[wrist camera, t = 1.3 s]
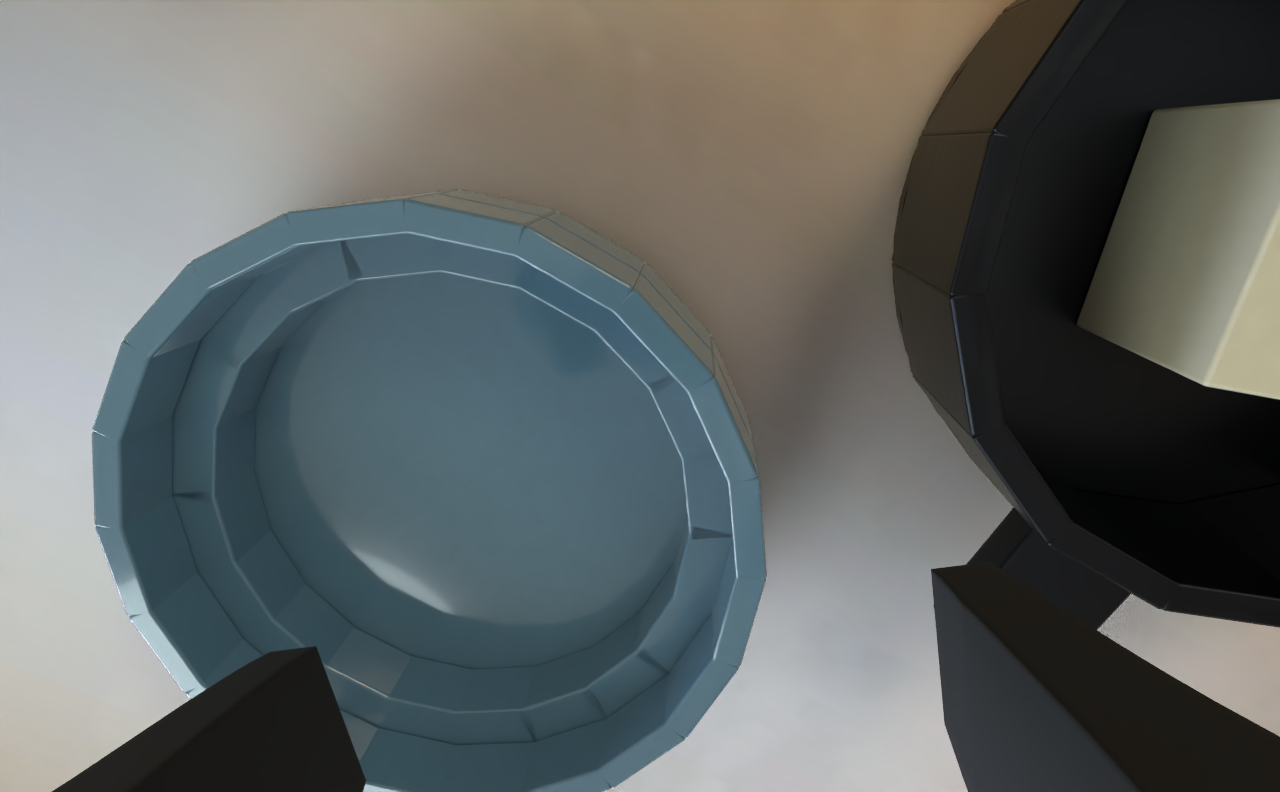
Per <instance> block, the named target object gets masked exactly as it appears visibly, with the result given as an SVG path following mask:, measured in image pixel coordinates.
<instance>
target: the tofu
mask: <svg viewBox="0 0 1280 792" xmlns="http://www.w3.org/2000/svg"><path fill="white" fill-rule="evenodd" d="M1077 326H1079V327H1080V328H1083V329H1085V330H1087V331H1089V332H1091V333H1093V334H1095V335H1097V336H1100V337H1102V338H1104V339H1106V340H1108V341H1110V342H1112V343H1114V344H1117V345H1119V346H1121V347H1123V348H1125V349H1127V350H1129V351H1131V352H1134V353H1136V354H1138V355H1140V356H1142V357H1144V358H1146V359H1148V360H1151V361H1153V362H1155V363H1157V364H1159V365H1161V366H1163V367H1166V368H1168V369H1170V370H1172V371H1174V372H1176V373H1178V374H1180V375H1183V376H1185V377H1187V378H1189V379H1191V380H1193V381H1195V382H1197V383H1200V384H1202V385H1204V386H1207V387H1212V388H1218V389H1223V390H1229V391H1234V392H1240V393H1246V394H1251V395H1257V396H1262V397H1268V398H1273V399H1279V400H1280V99H1276V100H1264V101H1252V102H1240V103H1228V104H1216V105H1204V106H1192V107H1181V108H1169V109H1158V110H1155V111H1154V112H1153V113H1152V115H1151V118H1150V121H1149V124H1148V127H1147V129H1146V132H1145V135H1144V138H1143V140H1142V143H1141V146H1140V149H1139V152H1138V154H1137V157H1136V160H1135V163H1134V165H1133V168H1132V171H1131V174H1130V177H1129V179H1128V182H1127V185H1126V188H1125V190H1124V193H1123V196H1122V199H1121V202H1120V204H1119V207H1118V210H1117V213H1116V215H1115V218H1114V221H1113V224H1112V227H1111V229H1110V232H1109V235H1108V238H1107V240H1106V243H1105V246H1104V249H1103V252H1102V254H1101V257H1100V260H1099V263H1098V265H1097V268H1096V271H1095V274H1094V277H1093V279H1092V282H1091V285H1090V288H1089V290H1088V293H1087V296H1086V299H1085V302H1084V304H1083V307H1082V310H1081V313H1080V315H1079V318H1078V321H1077Z"/></svg>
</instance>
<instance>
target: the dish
mask: <svg viewBox="0 0 1280 792" xmlns="http://www.w3.org/2000/svg"><path fill="white" fill-rule="evenodd" d="M124 339H125V340H124V341H123V342H122V343H121V346H120V349H119V352H118V355H117V358H116V361H115V364H114V367H113V370H112V373H111V376H110V379H109V382H108V385H107V388H106V391H105V393H104V396H103V399H102V402H101V405H100V408H99V411H98V414H97V417H96V420H95V423H94V426H93V433H92V455H93V485H94V515H95V525H96V532H97V534H98V537H99V540H100V543H101V545H102V548H103V551H104V554H105V556H106V559H107V562H108V564H109V567H110V570H111V573H112V575H113V578H114V581H115V584H116V586H117V589H118V592H119V594H120V597H121V600H122V603H123V605H124V608H125V611H126V614H127V615H129V618H130V620H131V621H132V623H133V624H134V625H135V627H136V628H137V630H138V631H139V632H140V634H141V635H142V636H143V638H144V639H145V641H146V642H147V643H148V645H149V646H150V647H151V649H152V650H153V651H154V653H155V654H156V656H157V657H158V658H159V660H160V661H161V662H162V664H163V665H164V667H165V668H166V669H167V671H168V672H169V673H170V675H171V676H172V678H173V679H174V680H175V682H176V683H177V684H178V686H179V687H180V688H181V690H182V691H183V692H185V693H186V692H187V693H186V695H187V696H188V697H189V698H190V699H192V698H194V697H195V696H197V695H198V694H200V693H201V692H203V691H204V690H206V689H207V688H209V687H211V686H212V685H214V684H215V683H217V682H218V681H220V680H222V679H223V678H225V677H226V676H228V675H230V674H231V673H233V672H235V671H236V670H238V669H240V668H241V667H243V666H245V665H246V664H248V663H250V662H252V661H254V660H256V659H257V658H259V657H261V656H263V655H265V654H267V653H269V652H272V651H280V650H288V649H296V648H304V647H312V646H316V647H317V649H318V652H319V655H320V657H321V660H322V663H323V666H324V668H325V671H326V674H327V676H328V679H329V682H330V684H331V687H332V690H333V693H334V695H335V698H336V701H337V703H338V706H339V709H340V711H341V714H342V717H343V719H344V722H345V725H346V728H347V730H348V733H349V736H350V738H351V741H352V744H353V746H354V749H355V752H356V755H357V757H358V760H359V763H360V765H361V768H362V771H363V773H364V776H365V779H366V784H365V787H364V790H363V792H602V791H605V790H609V789H611V788H612V787H616V786H617V785H619V784H620V783H622V782H623V781H625V780H626V779H627V778H629V777H630V776H632V775H633V774H635V773H636V772H638V771H639V770H641V769H642V768H644V767H645V766H647V765H648V764H650V763H651V762H653V761H654V760H656V759H657V758H659V757H660V756H661V755H663V754H664V753H666V752H667V751H669V750H670V749H672V748H673V747H675V746H676V745H678V744H679V743H681V742H682V741H684V739H685V737H688V735H689V734H690V733H691V731H692V730H693V729H694V727H695V726H696V725H697V723H698V722H699V721H700V719H701V718H702V717H703V715H704V714H705V713H706V711H707V710H708V709H709V707H710V706H711V705H712V703H713V702H714V701H715V699H716V698H717V697H718V695H719V694H720V693H721V691H722V690H723V689H724V687H725V686H726V685H727V683H728V682H729V681H730V679H731V678H732V677H733V675H734V674H735V673H736V671H737V670H738V668H739V666H740V665H741V663H742V659H743V656H744V652H745V649H746V646H747V642H748V639H749V636H750V632H751V629H752V625H753V622H754V619H755V615H756V612H757V609H758V605H759V602H760V598H761V595H762V592H763V588H764V585H765V581H766V576H767V572H766V559H765V545H764V531H763V517H762V503H761V489H760V478H759V472H758V467H757V461H756V456H755V451H754V446H753V440H752V435H751V429H750V424H749V421H748V416H747V414H746V412H745V409H744V407H743V405H742V402H741V400H740V398H739V396H738V393H737V391H736V389H735V386H734V384H733V382H732V379H731V377H730V375H729V373H728V370H727V368H726V366H725V363H724V361H723V359H722V356H721V354H720V352H719V350H718V347H717V345H716V343H715V340H714V338H713V337H712V336H710V332H709V331H708V330H707V329H706V328H705V326H704V325H703V324H702V323H701V322H700V321H699V320H698V319H697V317H696V316H695V315H694V314H693V313H692V312H691V311H690V310H689V309H688V307H687V306H686V305H685V304H684V303H683V302H682V301H681V300H680V299H679V297H678V296H677V295H676V294H675V293H674V292H673V291H672V290H671V289H670V287H669V286H668V285H667V284H666V283H665V282H664V281H663V280H662V279H661V277H660V276H659V275H658V274H657V273H656V272H655V271H654V270H653V269H652V267H651V266H650V265H649V264H647V263H645V264H644V260H643V259H641V258H639V257H638V256H636V255H634V254H633V253H631V252H629V251H627V250H626V249H624V248H622V247H621V246H619V245H617V244H615V243H614V242H612V241H610V240H608V239H607V238H605V237H603V236H602V235H600V234H598V233H596V232H595V231H593V230H591V229H590V228H588V227H586V226H584V225H583V224H581V223H579V222H578V221H576V220H574V219H572V218H571V217H569V216H567V215H565V214H564V213H562V212H557V211H556V210H554V209H550V208H546V207H541V206H536V205H532V204H527V203H522V202H518V201H513V200H508V199H504V198H499V197H494V196H490V195H485V194H481V193H476V192H471V191H467V190H457V189H453V190H445V191H436V192H428V193H419V194H410V195H402V196H393V197H385V198H376V199H368V200H361V201H354V202H348V203H342V204H335V205H328V206H322V207H315V208H309V209H302V210H296V211H289V212H288V213H284V214H282V215H280V216H278V217H276V218H274V219H272V220H270V221H268V222H266V223H264V224H262V225H260V226H258V227H256V228H255V229H253V230H251V231H249V232H247V233H245V234H243V235H241V236H239V237H237V238H235V239H233V240H231V241H229V242H227V243H225V244H223V245H221V246H219V247H217V248H216V249H214V250H212V251H210V252H208V253H206V254H204V255H202V256H200V257H198V258H196V259H194V260H193V261H192V262H191V263H190V264H188V265H187V266H186V267H185V268H184V269H183V270H182V271H181V273H180V274H179V275H178V276H177V277H176V278H175V280H174V281H173V282H172V283H171V284H170V285H169V286H168V288H167V289H166V290H165V291H164V292H163V293H162V295H161V296H160V297H159V298H158V299H157V300H156V302H155V303H154V304H153V305H152V306H151V307H150V308H149V310H148V311H147V312H146V313H145V314H144V315H143V317H142V318H141V319H140V320H139V321H138V322H137V323H136V325H135V326H134V327H133V328H132V329H131V330H130V332H129V333H128V334H127V335H126V336H125V338H124Z"/></svg>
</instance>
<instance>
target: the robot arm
mask: <svg viewBox="0 0 1280 792" xmlns="http://www.w3.org/2000/svg"><path fill="white" fill-rule="evenodd" d="M931 574H932V585H933V596H934V608H935V619H936V630H937V642H938V653H939V665H940V676H941V687H942V699H943V710H944V721H945V726H946V729H947V732H948V735H949V738H950V741H951V744H952V746H953V749H954V752H955V755H956V758H957V761H958V764H959V767H960V770H961V773H962V776H963V779H964V781H965V784H966V787H967V790H968V792H1280V737H1279V736H1277V735H1275V734H1274V733H1272V732H1270V731H1268V730H1266V729H1265V728H1263V727H1261V726H1259V725H1257V724H1255V723H1254V722H1252V721H1250V720H1248V719H1246V718H1244V717H1243V716H1241V715H1239V714H1237V713H1235V712H1234V711H1232V710H1230V709H1228V708H1226V707H1224V706H1223V705H1221V704H1219V703H1217V702H1215V701H1213V700H1212V699H1210V698H1208V697H1207V696H1205V695H1203V694H1201V693H1200V692H1198V691H1196V690H1194V689H1193V688H1191V687H1189V686H1188V685H1186V684H1184V683H1182V682H1181V681H1179V680H1177V679H1175V678H1174V677H1172V676H1170V675H1169V674H1167V673H1165V672H1164V671H1162V670H1160V669H1159V668H1157V667H1155V666H1154V665H1152V664H1150V663H1149V662H1147V661H1145V660H1144V659H1142V658H1140V657H1139V656H1137V655H1136V654H1134V653H1132V652H1131V651H1129V650H1127V649H1126V648H1124V647H1122V646H1121V645H1119V644H1118V643H1116V642H1114V641H1113V640H1111V639H1110V638H1108V637H1106V636H1105V635H1103V634H1102V633H1100V632H1098V631H1097V630H1095V629H1094V628H1092V627H1091V626H1089V625H1087V624H1086V623H1084V622H1083V621H1081V620H1080V619H1078V618H1077V617H1075V616H1073V615H1072V614H1070V613H1069V612H1067V611H1066V610H1064V609H1063V608H1061V607H1059V606H1058V605H1056V604H1055V603H1053V602H1052V601H1050V600H1049V599H1047V598H1046V597H1044V596H1043V595H1041V594H1039V593H1038V592H1036V591H1035V590H1033V589H1032V588H1030V587H1029V586H1027V585H1026V584H1024V583H1023V582H1021V581H1019V580H1018V579H1016V578H1015V577H1013V576H1012V575H1010V574H1009V573H1007V572H1005V571H1004V570H1002V569H1001V568H999V567H997V566H996V565H994V564H992V563H991V562H986V563H977V564H969V565H961V566H953V567H945V568H937V569H931ZM365 784H366V779H365V776H364V773H363V771H362V768H361V765H360V763H359V760H358V757H357V755H356V752H355V749H354V746H353V744H352V741H351V738H350V736H349V733H348V730H347V728H346V725H345V722H344V719H343V717H342V714H341V711H340V709H339V706H338V703H337V701H336V698H335V695H334V693H333V690H332V687H331V684H330V682H329V679H328V676H327V674H326V671H325V668H324V666H323V663H322V660H321V657H320V655H319V652H318V649H317V647H316V646H312V647H304V648H296V649H288V650H280V651H272V652H269V653H267V654H265V655H263V656H261V657H259V658H257V659H256V660H254V661H252V662H250V663H248V664H246V665H245V666H243V667H241V668H240V669H238V670H236V671H235V672H233V673H231V674H230V675H228V676H226V677H225V678H223V679H222V680H220V681H218V682H217V683H215V684H214V685H212V686H211V687H209V688H207V689H206V690H204V691H203V692H201V693H200V694H198V695H197V696H195V697H194V698H192V699H191V700H189V701H188V702H186V703H185V704H183V705H182V706H180V707H179V708H177V709H176V710H174V711H173V712H171V713H170V714H168V715H167V716H165V717H164V718H162V719H161V720H159V721H158V722H156V723H155V724H153V725H152V726H150V727H149V728H147V729H146V730H144V731H143V732H141V733H140V734H138V735H137V736H135V737H134V738H132V739H131V740H129V741H128V742H126V743H125V744H123V745H122V746H120V747H119V748H117V749H116V750H114V751H113V752H111V753H110V754H108V755H107V756H105V757H104V758H102V759H101V760H99V761H98V762H96V763H95V764H93V765H92V766H90V767H89V768H87V769H86V770H84V771H83V772H81V773H80V774H78V775H77V776H75V777H74V778H72V779H71V780H69V781H68V782H66V783H65V784H63V785H62V786H60V787H58V788H57V789H55V790H54V791H52V792H363V790H364V787H365Z"/></svg>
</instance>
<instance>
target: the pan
mask: <svg viewBox="0 0 1280 792" xmlns="http://www.w3.org/2000/svg"><path fill="white" fill-rule="evenodd" d="M1276 99H1280V0H1016V1H1015V2H1014V3H1012V4H1011V5H1010V6H1008V7H1007V8H1006V9H1004V11H1003V12H1002V14H1000V15H999V16H998V17H997V19H996V20H995V22H994V24H993V25H992V27H991V28H990V30H989V31H988V32H987V33H986V34H985V35H984V36H983V37H982V38H981V40H980V41H979V42H978V44H977V45H976V46H975V48H974V49H973V50H972V52H971V53H970V54H969V56H968V57H967V58H966V60H965V61H964V63H963V64H962V65H961V67H960V68H959V69H958V71H957V72H956V73H955V75H954V76H953V78H952V79H951V81H950V83H949V84H948V86H947V88H946V90H945V91H944V93H943V95H942V97H941V98H940V100H939V102H938V104H937V105H936V107H935V109H934V111H933V112H932V114H931V116H930V118H929V120H928V122H927V125H926V127H925V129H924V130H923V132H922V136H921V137H920V138H919V142H918V146H917V148H916V150H915V153H914V155H913V157H912V160H911V164H910V167H909V171H908V174H907V178H906V181H905V184H904V188H903V191H902V195H901V198H900V204H899V210H898V216H897V222H896V229H895V235H894V251H893V256H892V261H893V264H892V268H893V285H894V294H895V303H896V312H897V318H898V322H899V326H900V330H901V334H902V338H903V341H904V345H905V349H906V352H907V354H908V357H909V363H910V368H911V372H912V373H913V377H914V378H915V380H916V381H917V383H918V384H919V386H920V387H921V388H922V390H923V391H924V393H925V394H926V395H927V397H928V398H929V400H930V401H931V403H932V405H933V406H934V408H935V410H936V411H937V413H938V414H939V415H940V416H941V418H942V419H943V420H944V421H945V422H946V424H947V425H948V427H949V428H950V430H951V431H952V432H953V434H954V435H955V437H956V438H957V439H958V441H959V442H960V444H961V445H962V447H963V448H964V449H965V451H966V452H967V454H968V455H969V456H970V458H971V459H972V460H973V461H974V462H975V464H976V465H977V466H978V467H979V468H980V469H981V470H982V472H983V473H984V474H985V475H986V476H987V477H988V478H989V480H990V481H991V482H992V483H993V484H994V485H995V486H996V488H997V489H998V490H999V491H1000V492H1001V493H1002V494H1003V495H1004V497H1005V498H1006V499H1007V500H1008V501H1009V502H1010V503H1011V505H1012V506H1013V507H1014V508H1013V509H1012V510H1011V511H1010V513H1009V514H1008V515H1007V516H1006V517H1005V519H1004V520H1003V521H1002V522H1001V523H1000V525H999V526H998V527H997V528H996V529H995V531H994V532H993V533H992V534H991V535H990V537H989V538H988V539H987V540H986V541H985V543H984V544H983V545H982V546H981V548H980V549H979V550H978V551H977V552H976V554H975V555H974V556H973V557H972V558H971V560H970V561H969V562H968V563H967V564H966V565H969V564H977V563H986V562H991V563H992V564H994V565H996V566H997V567H999V568H1001V569H1002V570H1004V571H1005V572H1007V573H1009V574H1010V575H1012V576H1013V577H1015V578H1016V579H1018V580H1019V581H1021V582H1023V583H1024V584H1026V585H1027V586H1029V587H1030V588H1032V589H1033V590H1035V591H1036V592H1038V593H1039V594H1041V595H1043V596H1044V597H1046V598H1047V599H1049V600H1050V601H1052V602H1053V603H1055V604H1056V605H1058V606H1059V607H1061V608H1063V609H1064V610H1066V611H1067V612H1069V613H1070V614H1072V615H1073V616H1075V617H1077V618H1078V619H1080V620H1081V621H1083V622H1084V623H1086V624H1087V625H1089V626H1091V627H1092V628H1094V629H1095V630H1097V629H1098V628H1099V627H1100V626H1101V625H1102V624H1103V623H1104V622H1105V621H1106V620H1107V619H1108V618H1109V617H1110V615H1111V614H1112V613H1113V612H1114V611H1115V610H1116V609H1117V608H1118V607H1119V606H1120V605H1121V604H1122V603H1123V602H1124V600H1125V599H1126V598H1127V597H1128V596H1129V595H1130V594H1131V593H1132V594H1133V595H1135V596H1137V597H1139V598H1140V599H1142V600H1144V601H1146V602H1147V603H1149V604H1151V605H1153V606H1154V607H1156V608H1158V609H1163V610H1165V611H1170V612H1177V613H1184V614H1191V615H1198V616H1205V617H1212V618H1218V619H1225V620H1232V621H1239V622H1246V623H1253V624H1260V625H1266V626H1273V627H1280V400H1279V399H1273V398H1268V397H1262V396H1257V395H1251V394H1246V393H1240V392H1234V391H1229V390H1223V389H1218V388H1212V387H1207V386H1204V385H1202V384H1200V383H1197V382H1195V381H1193V380H1191V379H1189V378H1187V377H1185V376H1183V375H1180V374H1178V373H1176V372H1174V371H1172V370H1170V369H1168V368H1166V367H1163V366H1161V365H1159V364H1157V363H1155V362H1153V361H1151V360H1148V359H1146V358H1144V357H1142V356H1140V355H1138V354H1136V353H1134V352H1131V351H1129V350H1127V349H1125V348H1123V347H1121V346H1119V345H1117V344H1114V343H1112V342H1110V341H1108V340H1106V339H1104V338H1102V337H1100V336H1097V335H1095V334H1093V333H1091V332H1089V331H1087V330H1085V329H1083V328H1080V327H1079V326H1077V321H1078V318H1079V315H1080V313H1081V310H1082V307H1083V304H1084V302H1085V299H1086V296H1087V293H1088V290H1089V288H1090V285H1091V282H1092V279H1093V277H1094V274H1095V271H1096V268H1097V265H1098V263H1099V260H1100V257H1101V254H1102V252H1103V249H1104V246H1105V243H1106V240H1107V238H1108V235H1109V232H1110V229H1111V227H1112V224H1113V221H1114V218H1115V215H1116V213H1117V210H1118V207H1119V204H1120V202H1121V199H1122V196H1123V193H1124V190H1125V188H1126V185H1127V182H1128V179H1129V177H1130V174H1131V171H1132V168H1133V165H1134V163H1135V160H1136V157H1137V154H1138V152H1139V149H1140V146H1141V143H1142V140H1143V138H1144V135H1145V132H1146V129H1147V127H1148V124H1149V121H1150V118H1151V115H1152V113H1153V112H1154V111H1155V110H1158V109H1169V108H1181V107H1192V106H1204V105H1216V104H1228V103H1240V102H1252V101H1264V100H1276Z"/></svg>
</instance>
